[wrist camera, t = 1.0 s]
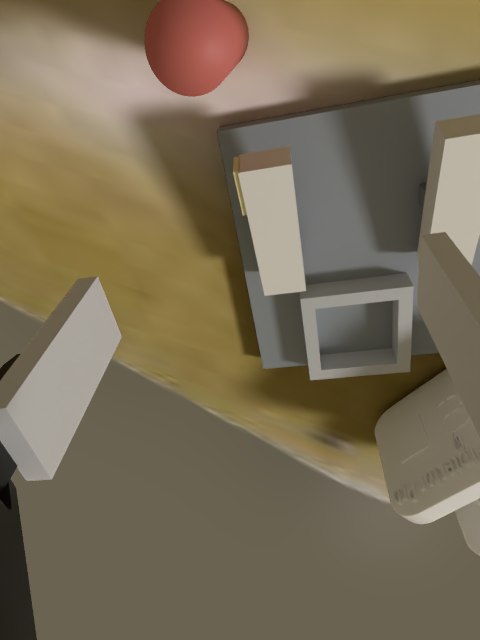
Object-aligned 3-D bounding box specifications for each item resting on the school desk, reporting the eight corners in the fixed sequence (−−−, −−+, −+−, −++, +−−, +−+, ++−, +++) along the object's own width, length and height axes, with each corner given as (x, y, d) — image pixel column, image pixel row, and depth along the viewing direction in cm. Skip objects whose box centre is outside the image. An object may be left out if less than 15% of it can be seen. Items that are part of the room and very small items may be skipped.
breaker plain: (435, 121, 24) (445, 139, 23) (493, 111, 24) (507, 129, 23) (416, 257, 32) (423, 277, 31) (460, 252, 31) (469, 271, 30)
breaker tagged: (233, 155, 26) (232, 173, 25) (289, 146, 26) (291, 164, 24) (260, 277, 34) (260, 296, 32) (304, 271, 33) (306, 291, 32)
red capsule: (183, 7, 26) (132, 2, 17) (243, -7, 26) (223, -20, 17) (197, 75, 28) (158, 103, 19) (253, 64, 28) (241, 87, 19)
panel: (219, 126, 30) (213, 138, 27) (509, 74, 27) (537, 81, 24) (263, 358, 41) (262, 384, 38) (473, 338, 38) (489, 365, 35)
